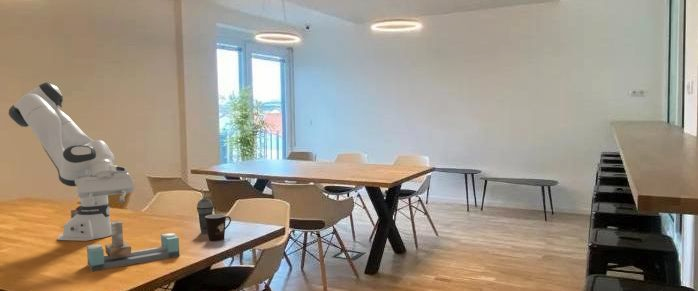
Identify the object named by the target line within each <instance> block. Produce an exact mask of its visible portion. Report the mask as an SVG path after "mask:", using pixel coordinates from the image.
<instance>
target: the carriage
mask: <svg viewBox="0 0 698 291" xmlns="http://www.w3.org/2000/svg"><path fill="white" fill-rule="evenodd" d="M110 222H111V232H112V235H111V243H107V244H106V243H105V244H104V245H105V254H106V256H109V257H110V258H114V257H120V256H126V255H131V252H132V247H131V245H130V244H129V243H128V242H127V241H126V240H125V241H124V232H123V231H124V228H123V222H122V221H121V220H119V221H110Z"/></svg>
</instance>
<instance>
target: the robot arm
mask: <svg viewBox="0 0 698 291" xmlns="http://www.w3.org/2000/svg"><path fill="white" fill-rule="evenodd" d="M63 101H64V96H63V94H62V92H61V90H60V89H59V88H58V86H56V85H54V84H53V83H50V82H47V81H45V82H43V83H40V84H39V85H38V86H37V87H35V88H33V89H32V90H30V91H28V92H27V93H26V94H25V95H23V96H21V97H20V98H19V99H18V101H16V103H15V104H13V105H11V106H10V108H9V109H8V116H9V117H10V119H11V120H12V121H13V122H14V124H16V125H18V126H20V127H23V128H24V127H25V128H27V127H29V128H30V129H31V130H32V132H33V133H34V135H35V136H36V138H37V140H38V141H39V142H40V144H41V146H42V148H43V149H44V151H45V153H46V155H47V156H48V158H49V159H50V161H51V162H52V164H53V166H54V168H56V170H57V173H58V175H57V176H58V180H59V181H60V182H61V183H62V184H63V185H66V186H68V187H77V189H76V194H77V195H76V196H77V197H78V198H80V205H79V206H77V207H75V209H74V210H75V211H77V215H76V216H74V217H73V218H72V219H71V218H70V219H69V220H68V221H66V223H65V224H64V225H63V229H62V230H63V231H62V233H61V234H60V235H58V236H57V241H80V242H81V241H82V242H85V241H86V242H87V241H88V242H89V241H91V240H96V239H101V238H107V237H110V236H112V232H111V222H112V221H111V217H110V216H111V209H110V208H111V207H110V203H109V196H113V195H114V196H115V195H120V194H121V195H120V196H119V202H120V203H123V202H124V203H125V197H126V194H131V193H133V192H134V190H135V186H136V185H135V182H134V180H133V176H132V175H131V174H130V173H129V172H128V171H129V170H128V168H127V167H126V166H125V167H124V166H120V165H114V163H115V160H116V158H115V155H114V153H113V152H112V151H111V149H110V147H109V146H108V144H107V143H106V142H105V141H103V140H101V139H95V140H93V139H92V138H91V137H90V136H88V135H87V134H86V133H85V132H84V131H83V130H82V129H81V128H80V127H79V125H77V124H76V123H75V121H74V120H72V119H71V117H70V116H69V115H67V114H66V113H65V112H64V111H63V110H61V109H60V108H59V107H61V108H63Z"/></svg>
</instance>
